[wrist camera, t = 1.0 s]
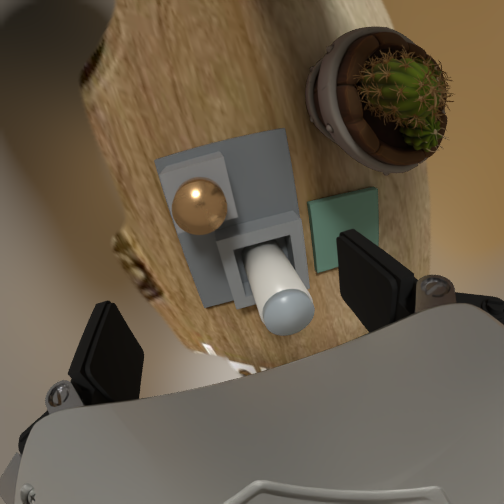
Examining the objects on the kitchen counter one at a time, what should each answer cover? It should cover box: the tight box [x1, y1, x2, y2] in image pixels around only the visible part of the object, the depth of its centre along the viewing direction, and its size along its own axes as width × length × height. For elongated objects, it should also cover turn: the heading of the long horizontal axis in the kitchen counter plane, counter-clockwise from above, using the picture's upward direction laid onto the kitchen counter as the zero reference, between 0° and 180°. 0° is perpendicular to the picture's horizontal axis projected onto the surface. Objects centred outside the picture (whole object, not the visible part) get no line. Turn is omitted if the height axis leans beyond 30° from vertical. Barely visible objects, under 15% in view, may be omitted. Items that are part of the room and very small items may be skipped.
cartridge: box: [242, 239, 314, 336], centre depth 29 cm, size 5×5×12 cm
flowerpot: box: [305, 27, 453, 175], centre depth 20 cm, size 14×15×20 cm
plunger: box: [172, 177, 227, 235], centre depth 24 cm, size 4×4×6 cm
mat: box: [307, 187, 379, 273], centre depth 36 cm, size 10×10×1 cm
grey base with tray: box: [154, 128, 310, 309], centre depth 31 cm, size 20×14×6 cm
